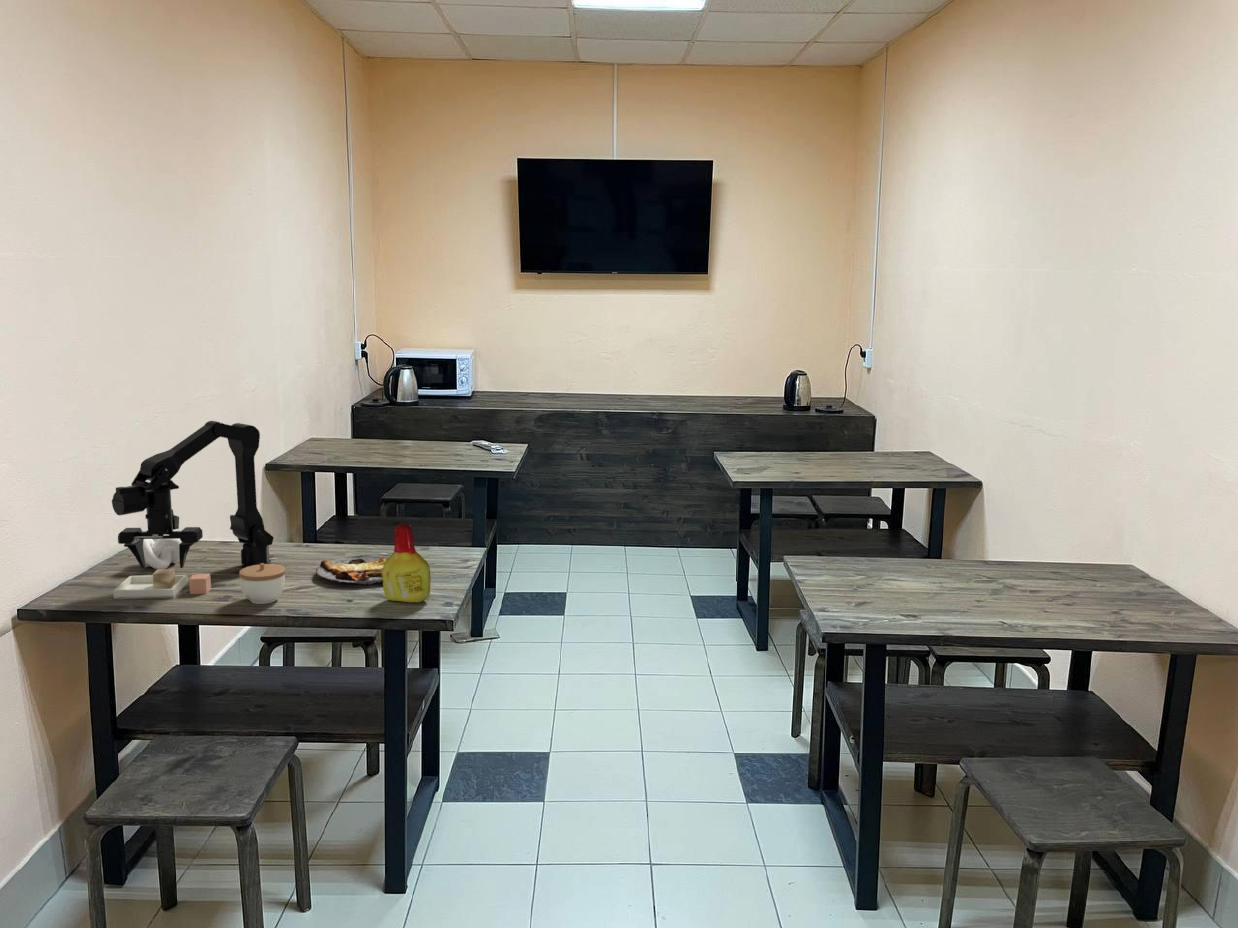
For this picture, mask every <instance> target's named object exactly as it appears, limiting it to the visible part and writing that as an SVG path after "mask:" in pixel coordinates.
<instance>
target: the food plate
mask: <svg viewBox="0 0 1238 928" xmlns="http://www.w3.org/2000/svg"><path fill="white" fill-rule="evenodd" d="M389 557H390V556H387V555H372V554H363V555H356V556H355V555H354V556H348V557H342V558H341V557H340V558H336V559H332V560H329V559H324V560H321V561H320V565H319V566H317V567H316V570H315V575H316V576H317V577H320V578H323V579H326V580H328V581H332V582H335V584H336V583H339V584H340V583H343V582H344V583H345V584H351V583H352V584H357V585H368V586H370V585H373V584H376V583H381V582H383V578H381V579H380V578H379V579H376V578H375V577H378V576H381V577H382V569H383V565H384V563H385V562H386V560H387V559H388V558H389ZM360 574H361V575H360ZM373 578H375V579H376V580H372V579H373Z"/></svg>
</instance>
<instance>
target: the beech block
mask: <svg viewBox="0 0 1238 928" xmlns="http://www.w3.org/2000/svg"><path fill="white" fill-rule="evenodd" d="M175 571H176V570H175V568H166V569H156V570H155V571H154V572H153V573H152V575H153V585H154V589H171V588H172V587H173V586H174V585H175V575H176V574H175Z"/></svg>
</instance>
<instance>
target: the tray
mask: <svg viewBox="0 0 1238 928" xmlns="http://www.w3.org/2000/svg"><path fill="white" fill-rule="evenodd" d="M188 583H189V578H188V574H175V585H174V586H173V587H172V588H171V589H154V585H153V574H152V575H151V574H150V575H129V576H128V577H127V578H126V579H125V580H124V581H122V582H121V583H120V584H119V585H118V586H116V588H114V589H113V590H112V595H113V597H112V598H113V600H127V599H128V600H130V599H131V600H133V599H134V600H135V599H136V600H138V599H143V600H144V599H175V598H176V596H177V595H178V594H180V592H181V591H182V590H183V589H184V588H185V587H186V586H187V584H188Z"/></svg>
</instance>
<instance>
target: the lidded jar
mask: <svg viewBox="0 0 1238 928" xmlns="http://www.w3.org/2000/svg"><path fill="white" fill-rule="evenodd" d="M238 574H239V581H240V582H239V583H240V589H241V591H242V593H243V595H244V596H245V598H246V599H247V600H249V601H250V603H251V604H255V605H266V604H271V603H273V602H276V601H277V599H278V597H280V595H281V594H282V593H283V590H284V589H285V583H286V567H284V566H283V565H279V564H275V563H270V564H264V563H261V564H259V565H253V566H249V567H246V568H242V569H240V570H239V572H238Z"/></svg>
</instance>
